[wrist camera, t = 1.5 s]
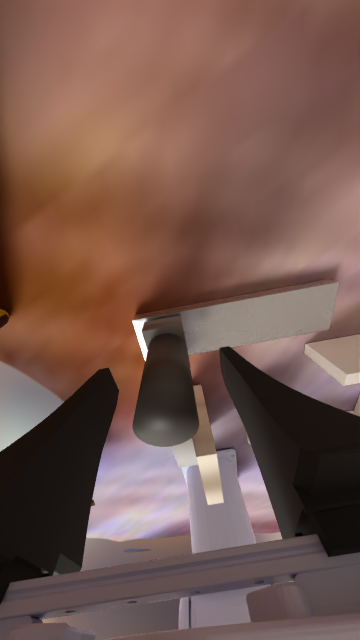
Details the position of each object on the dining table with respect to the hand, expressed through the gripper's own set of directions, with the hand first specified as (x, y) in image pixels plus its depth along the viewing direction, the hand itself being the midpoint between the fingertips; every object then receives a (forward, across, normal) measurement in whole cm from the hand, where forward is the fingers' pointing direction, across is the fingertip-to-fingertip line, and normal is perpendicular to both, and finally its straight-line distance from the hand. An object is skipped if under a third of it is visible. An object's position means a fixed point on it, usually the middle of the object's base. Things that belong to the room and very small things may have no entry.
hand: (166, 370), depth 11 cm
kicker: (+5, 0, +7) cm, 8 cm away
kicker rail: (+5, -6, 0) cm, 8 cm away
